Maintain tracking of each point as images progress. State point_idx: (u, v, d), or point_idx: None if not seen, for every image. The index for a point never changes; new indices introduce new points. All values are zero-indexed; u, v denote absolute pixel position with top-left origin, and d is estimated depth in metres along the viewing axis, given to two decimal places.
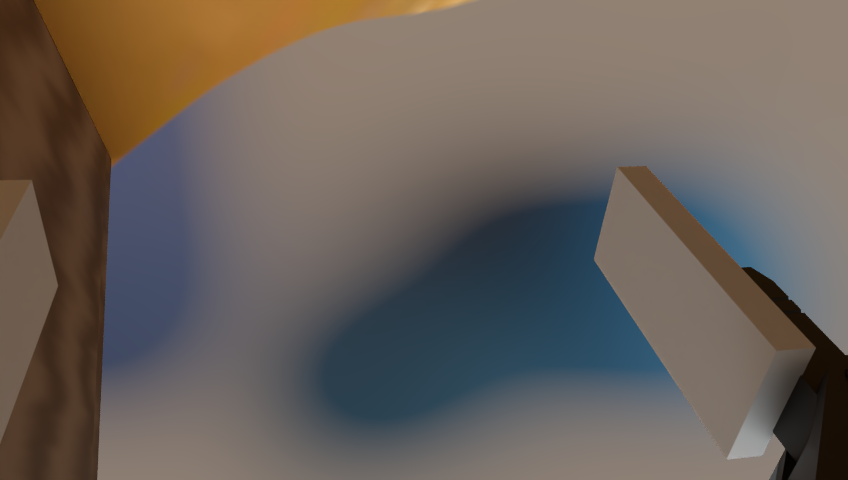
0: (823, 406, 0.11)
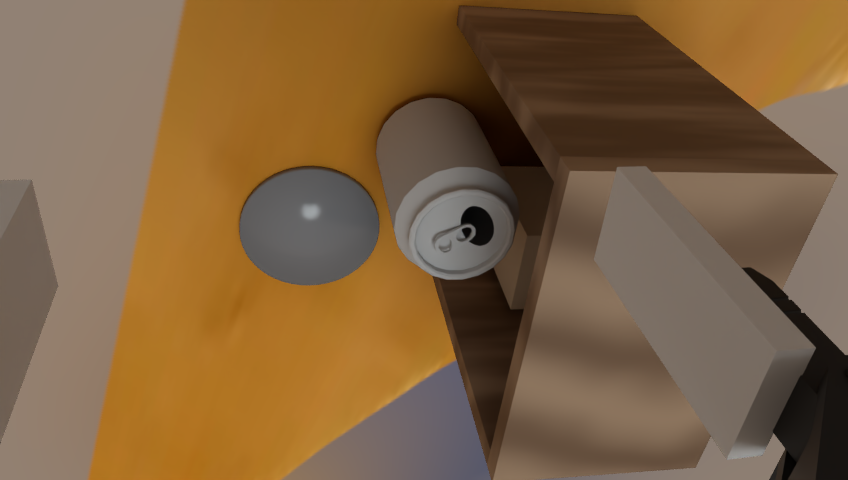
0: (823, 406, 0.11)
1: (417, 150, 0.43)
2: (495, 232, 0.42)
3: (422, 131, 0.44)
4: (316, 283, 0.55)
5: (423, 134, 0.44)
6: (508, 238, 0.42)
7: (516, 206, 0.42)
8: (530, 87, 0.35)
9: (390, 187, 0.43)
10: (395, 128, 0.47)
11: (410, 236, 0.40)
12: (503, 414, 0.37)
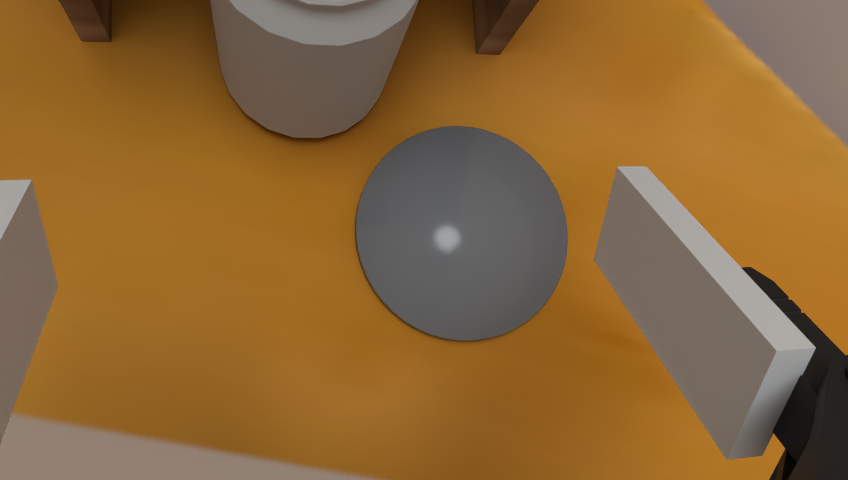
0: (823, 406, 0.11)
1: (230, 42, 0.26)
2: None
3: (222, 48, 0.27)
4: (562, 217, 0.34)
5: (222, 43, 0.27)
6: None
7: None
8: None
9: (297, 77, 0.26)
10: (252, 103, 0.30)
11: (325, 2, 0.22)
12: None
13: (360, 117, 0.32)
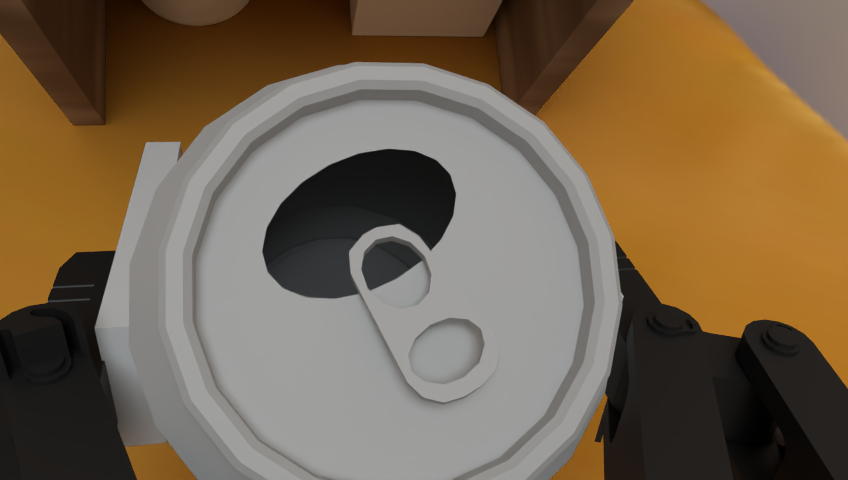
0: (635, 360, 0.12)
1: None
2: (384, 142, 0.10)
3: None
4: None
5: None
6: (397, 84, 0.10)
7: None
8: None
9: None
10: None
11: None
12: None
13: None
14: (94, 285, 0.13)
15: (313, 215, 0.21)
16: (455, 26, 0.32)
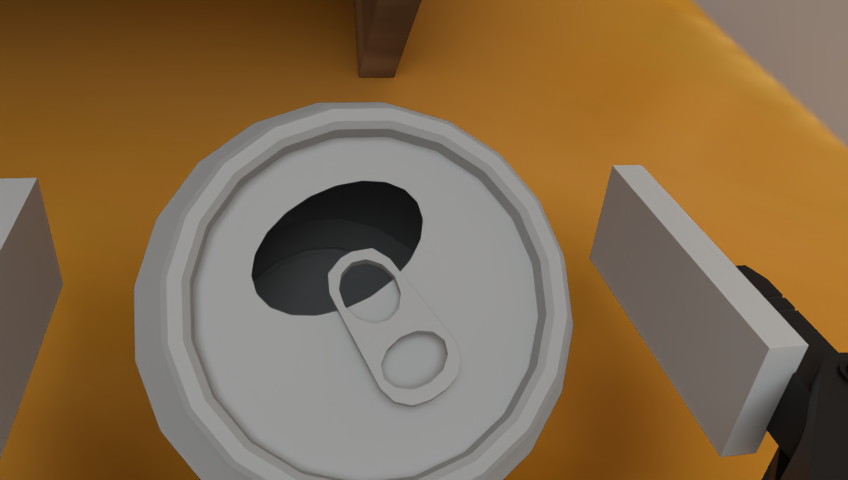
0: (816, 404, 0.11)
1: None
2: (358, 174, 0.12)
3: None
4: None
5: None
6: (368, 124, 0.11)
7: (277, 121, 0.12)
8: None
9: None
10: None
11: None
12: None
13: None
14: None
15: (302, 228, 0.22)
16: None
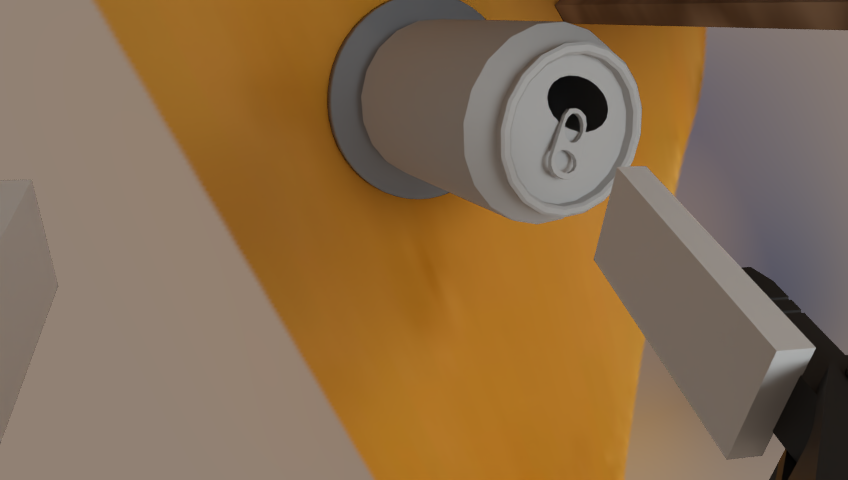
0: (823, 406, 0.11)
1: (424, 97, 0.28)
2: (604, 90, 0.26)
3: (409, 77, 0.29)
4: None
5: (413, 77, 0.29)
6: (626, 81, 0.26)
7: (596, 40, 0.27)
8: None
9: (437, 168, 0.28)
10: (377, 109, 0.32)
11: (517, 191, 0.25)
12: None
13: None
14: None
15: None
16: None
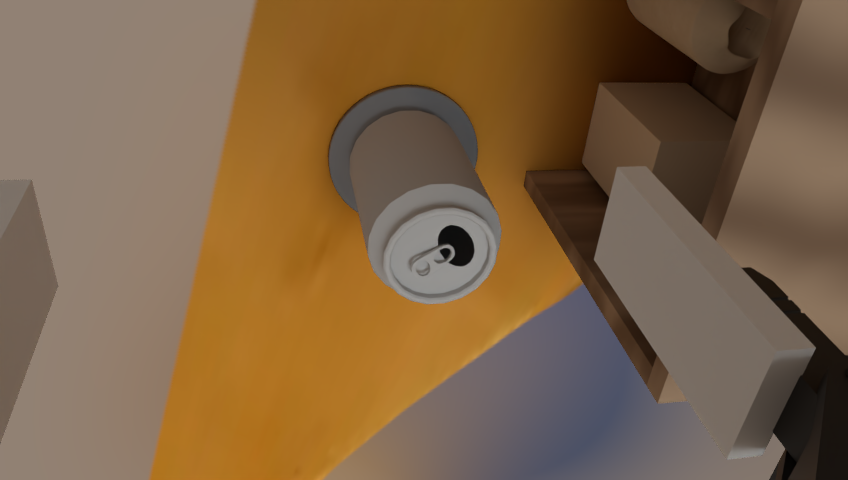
0: (823, 406, 0.11)
1: (388, 168, 0.40)
2: (476, 250, 0.39)
3: (394, 147, 0.42)
4: None
5: (395, 150, 0.41)
6: (490, 257, 0.39)
7: (496, 222, 0.39)
8: None
9: (362, 209, 0.41)
10: (366, 144, 0.44)
11: (384, 261, 0.38)
12: None
13: None
14: None
15: None
16: (590, 149, 0.50)
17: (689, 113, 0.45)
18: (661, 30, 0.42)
